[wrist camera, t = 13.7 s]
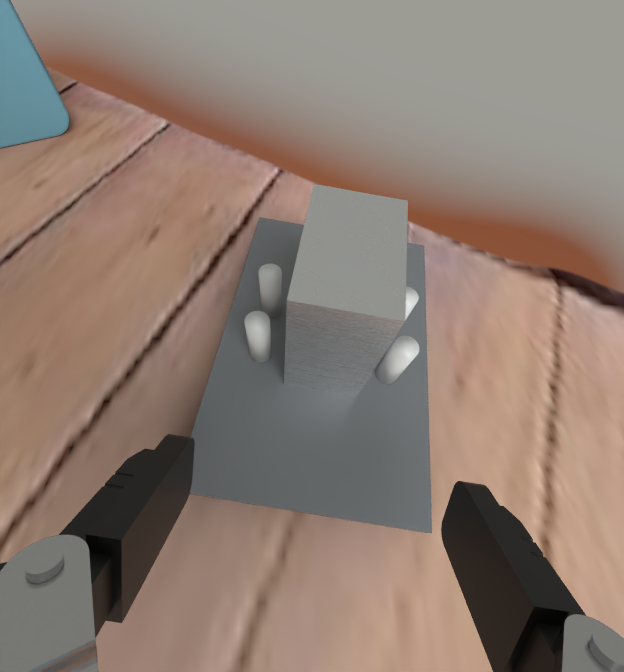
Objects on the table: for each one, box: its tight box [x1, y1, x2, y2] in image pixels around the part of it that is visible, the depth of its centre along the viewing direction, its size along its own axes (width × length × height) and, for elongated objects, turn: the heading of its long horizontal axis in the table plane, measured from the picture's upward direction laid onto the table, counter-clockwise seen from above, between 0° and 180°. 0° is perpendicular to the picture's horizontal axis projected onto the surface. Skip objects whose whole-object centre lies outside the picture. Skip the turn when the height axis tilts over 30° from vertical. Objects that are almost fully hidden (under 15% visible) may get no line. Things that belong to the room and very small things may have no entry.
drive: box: [284, 184, 408, 397], centre depth 16 cm, size 4×6×8 cm
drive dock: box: [189, 218, 432, 533], centre depth 19 cm, size 12×18×5 cm, turn 172°
